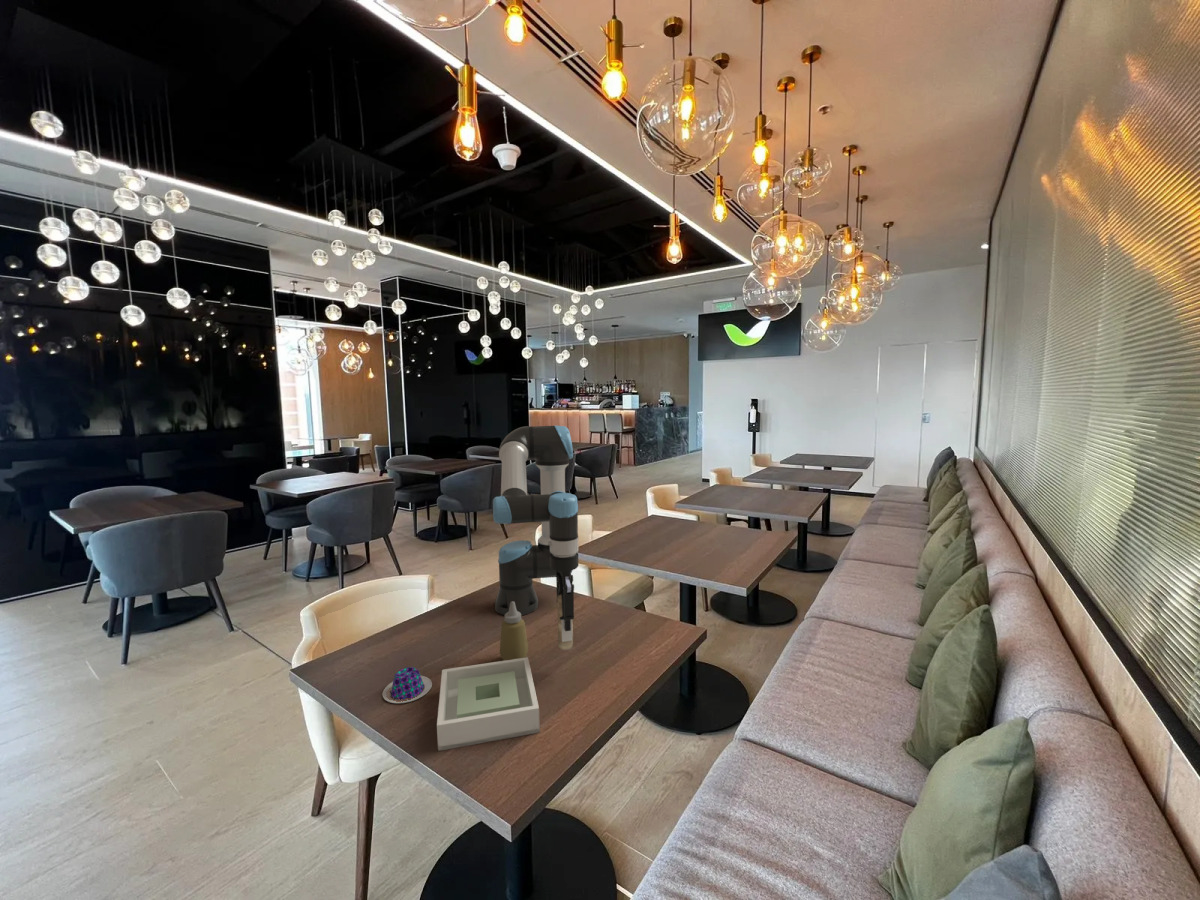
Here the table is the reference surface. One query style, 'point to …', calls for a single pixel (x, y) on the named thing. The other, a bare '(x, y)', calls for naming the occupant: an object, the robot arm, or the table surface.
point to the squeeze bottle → (513, 635)
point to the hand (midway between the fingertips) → (565, 635)
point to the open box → (489, 724)
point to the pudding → (408, 685)
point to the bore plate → (487, 694)
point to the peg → (566, 644)
